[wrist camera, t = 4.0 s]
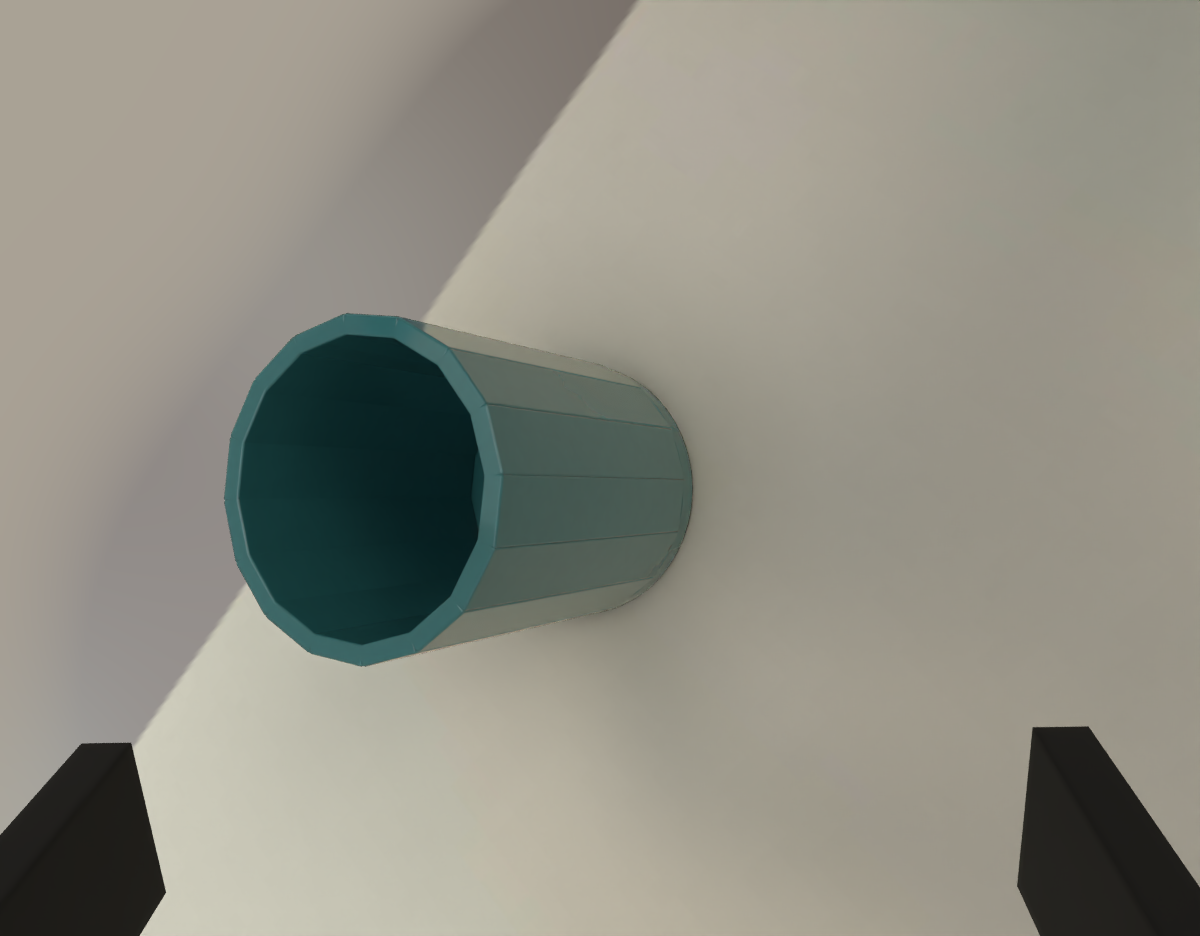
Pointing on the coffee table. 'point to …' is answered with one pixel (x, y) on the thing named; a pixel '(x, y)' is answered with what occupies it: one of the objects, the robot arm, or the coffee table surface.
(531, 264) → the coffee table surface
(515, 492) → the pot
